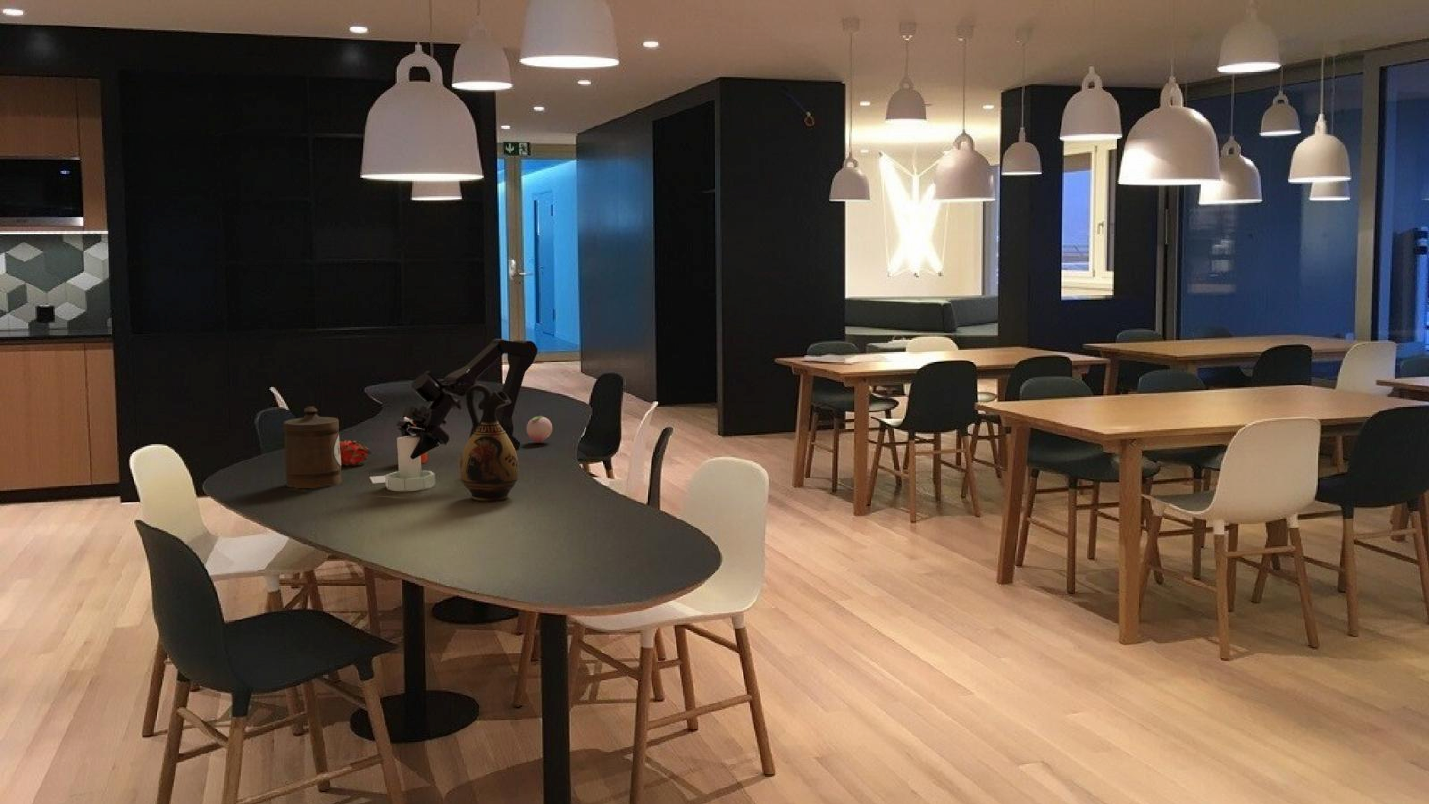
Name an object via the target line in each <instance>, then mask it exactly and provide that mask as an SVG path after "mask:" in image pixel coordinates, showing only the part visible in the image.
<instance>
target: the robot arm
mask: <svg viewBox="0 0 1429 804" xmlns="http://www.w3.org/2000/svg"><path fill="white" fill-rule="evenodd" d="M504 354H505V355H507V357H506V358H507V362H508V369H507V370H508V371H507V373H506V377H505V379H504V383H503V387H502V390H501V391H503V392H504V393H505V394H506V395H507V396H508V398H509V399H510V400H511V403H510V404H507V405H505V406H502V407H500V408H498V409H497V410H496V413H495V414H496V419H497V421H498V423H499V424H500V425H501V427H502V428H503V430H504V431H505V432H506V434H507V436H508V437H509V439H510V441H511V442H512V444H513V446H514V448H515V451H516V452H517V451H519V450H520V447H521V442H520V441H519V440H518V439H517V438H516V437H515V436H514V430H515V428H514V423H513V415H514V412H515V409H516V405H517V401H518V400H519V395H520V392H521V388H522V385H523V382H524V378H525V374H526V372H527V371H528V369H529V368H530V367H531V366H532V365H533V364H534V361H535V360H536V357H537V354H538V347H537V345H536V343H535V342H533V341H532V340H525V339H524V340H523V339H516V340H515V339H514V340H512V341H511V340H507V339H504V338H494V339H493V340H492V341H490V343H489V344H488V345H487V346H486V347H485V348H484V349H483V350H481V351H480V352H479V353H478V354H477V355H476V356H475V357H474V358H473V359H472V360H471V361H469V362H468V363H467V364H466V365H464V366H463V367H461V368H459V369H457V370H454V371H452V372H451V373H449V374H447V375H446V376H445V377H444V378H443V379H441V380H438V378H437V377H435V375H434V374H433V373H432V372H431V371H429V370H426V371H425V372H424V373H422V374H421V375H419V376H418V377H416V378H414V380H413V381H412V383H411V385H410V386H411V389H412V391H414V392H415V394H416V395H418V396H419V397H420V398H421V399H422V400H424V401H425V402H426V403H430V402H431V403H430V404H429V405H428V407H427V406H424V405H418V406H417V407H416V406H410V405H404V407H403V410H402V412H401V417H402V418H404V417H406V418H409V419H412V423H413V424H415V425H416V427H415V426H414V425H413V424H412V423H411V422H410V421H404V419H402V420H399V421H398V422H397V423H396V425H395V428H396V429H397V430H398V431H399V432H400V433H401V437H403V436H420V440H419V442H418V444H417V445H416V447H415V449H414V451H413V452H412V454H411V456H410V458H411V459H415V458H417V457H419V456H420V455H422V454H424V453H426V452H427V453H428V452H429V451H431V450H433V449H435V448H439V447H440V446H445V447H446V446H447V445H448V443H449V442H450V435H449V433H447V432H446V431H445V430H444V429H443V428H442V427H441V426H445V425H446V424H447V421H446V418H447V417H448V415H449V414H450V413H451V411H453V409H454V410H462V405H461V400H460V399H456V398H455V397H453V396H457V397H466V394H467V391H468V390H469V388H470V387H471V386H473V385H475V384H476V381H477V380H478V378H479V377H480V376H481V375H482V374H483V373H485V371H486V370H487V369H489V368H490V367H491V366H492V365H493V364H494V363H495V362H496V361H497V360H498V359H500V358H501V357H502V356H503V355H504ZM397 456H398V453H397Z"/></svg>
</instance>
